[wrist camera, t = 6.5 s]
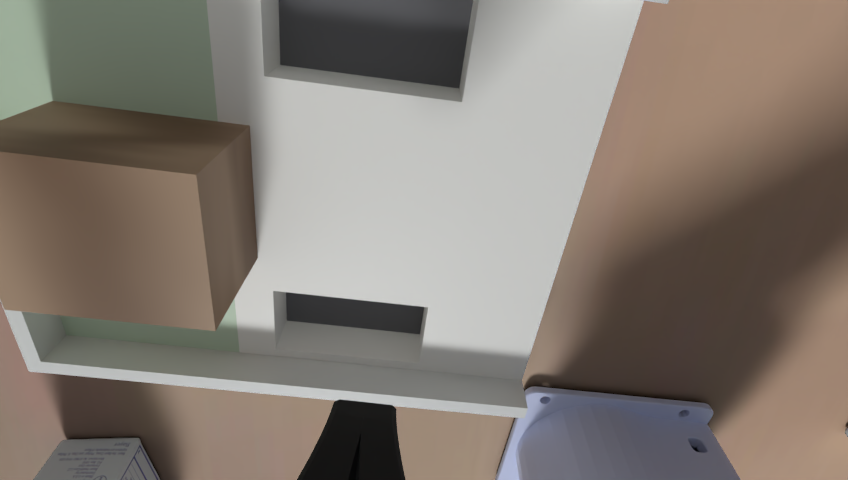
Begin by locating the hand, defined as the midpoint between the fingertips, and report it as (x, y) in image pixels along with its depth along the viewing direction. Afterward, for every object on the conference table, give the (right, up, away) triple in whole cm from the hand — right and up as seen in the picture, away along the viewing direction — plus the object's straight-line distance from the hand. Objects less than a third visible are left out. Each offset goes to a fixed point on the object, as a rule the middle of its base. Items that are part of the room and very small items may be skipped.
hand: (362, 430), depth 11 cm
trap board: (-3, +7, +7) cm, 10 cm away
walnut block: (-7, +6, +5) cm, 11 cm away
